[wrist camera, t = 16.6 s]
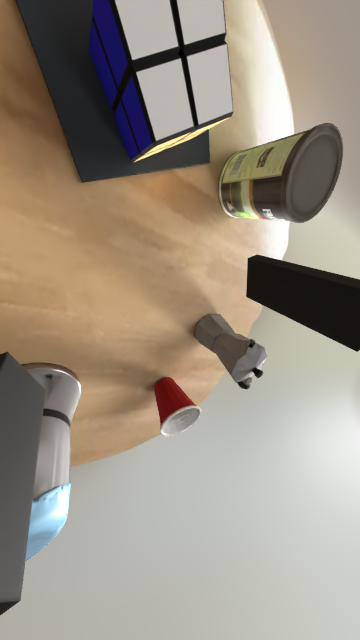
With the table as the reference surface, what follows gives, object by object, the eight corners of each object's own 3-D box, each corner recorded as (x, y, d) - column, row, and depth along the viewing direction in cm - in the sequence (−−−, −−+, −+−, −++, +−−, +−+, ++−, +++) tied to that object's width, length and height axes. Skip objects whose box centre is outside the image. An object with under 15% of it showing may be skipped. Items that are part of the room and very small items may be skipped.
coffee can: (253, 219, 40) (319, 225, 29) (213, 214, 35) (274, 219, 25) (269, 157, 35) (356, 136, 24) (225, 142, 30) (308, 108, 20)
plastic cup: (143, 403, 53) (158, 445, 44) (146, 375, 48) (163, 416, 39) (177, 393, 58) (197, 429, 49) (183, 367, 53) (206, 401, 44)
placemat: (82, 182, 25) (82, 182, 25) (13, -6, 17) (12, -12, 17) (208, 163, 31) (210, 162, 30) (201, 15, 23) (204, 11, 22)
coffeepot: (191, 313, 45) (244, 362, 31) (223, 301, 48) (285, 340, 34) (196, 358, 54) (238, 411, 40) (223, 345, 56) (271, 391, 43)
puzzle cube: (86, 46, 20) (94, -53, 12) (167, 23, 22) (219, -76, 14) (130, 163, 26) (154, 147, 18) (191, 139, 28) (236, 114, 20)
